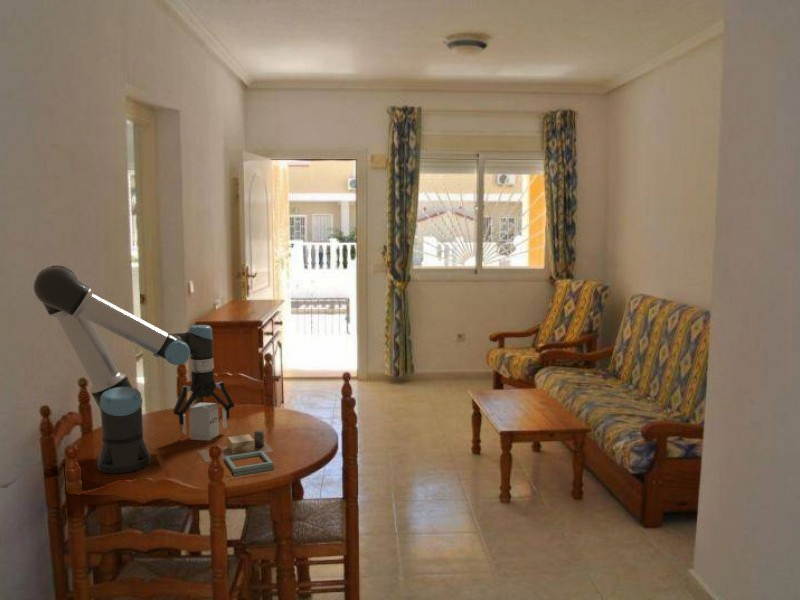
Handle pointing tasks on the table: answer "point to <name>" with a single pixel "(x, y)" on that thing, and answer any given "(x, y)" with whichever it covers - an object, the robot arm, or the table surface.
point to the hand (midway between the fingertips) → (205, 430)
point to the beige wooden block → (240, 444)
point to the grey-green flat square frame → (249, 467)
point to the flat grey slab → (258, 446)
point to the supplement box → (204, 421)
